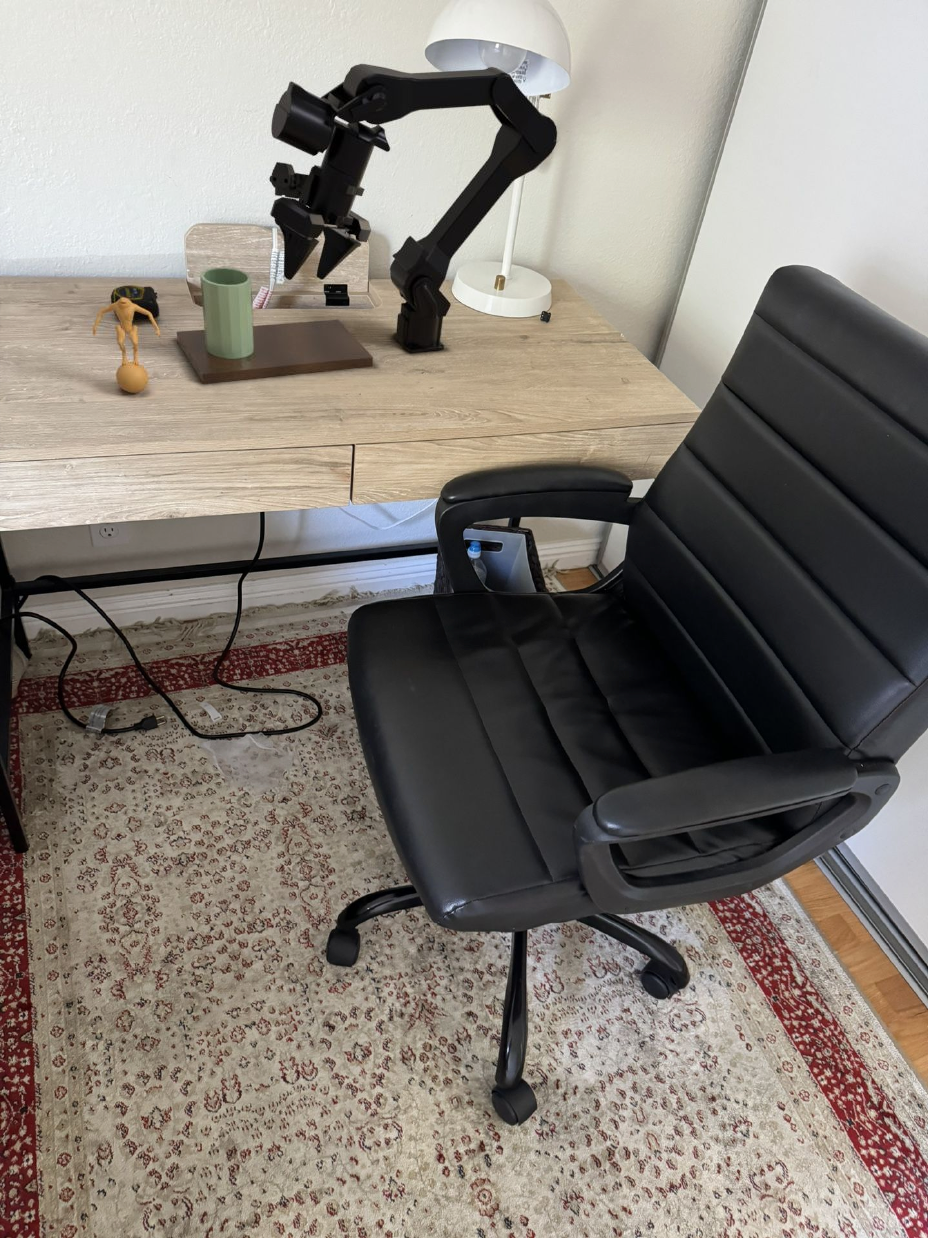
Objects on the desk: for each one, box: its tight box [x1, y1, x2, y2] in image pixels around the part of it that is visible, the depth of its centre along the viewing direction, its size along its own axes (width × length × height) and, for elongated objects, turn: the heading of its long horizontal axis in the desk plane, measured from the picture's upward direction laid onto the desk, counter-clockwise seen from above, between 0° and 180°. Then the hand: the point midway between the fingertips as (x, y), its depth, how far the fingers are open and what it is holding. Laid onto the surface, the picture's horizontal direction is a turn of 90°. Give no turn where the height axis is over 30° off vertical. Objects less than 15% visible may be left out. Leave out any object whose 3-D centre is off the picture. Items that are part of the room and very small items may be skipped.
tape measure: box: [110, 284, 160, 321], centre depth 125 cm, size 7×7×4 cm
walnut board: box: [176, 319, 374, 385], centre depth 122 cm, size 26×14×2 cm, turn 118°
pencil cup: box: [199, 266, 254, 359], centre depth 115 cm, size 7×7×10 cm
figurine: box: [92, 297, 162, 394], centre depth 106 cm, size 8×6×12 cm
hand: (303, 278), depth 118 cm, fingers open, 9 cm apart
